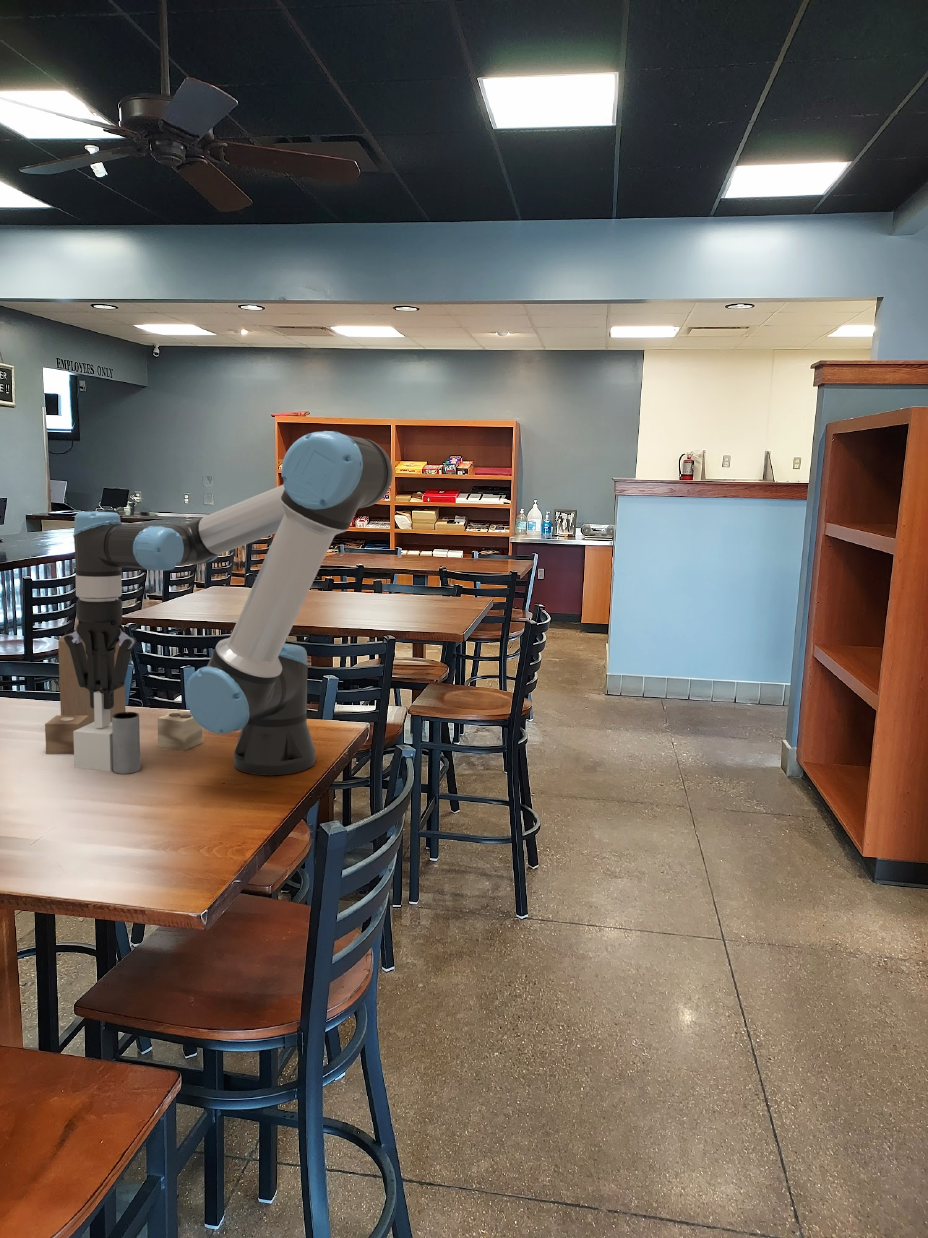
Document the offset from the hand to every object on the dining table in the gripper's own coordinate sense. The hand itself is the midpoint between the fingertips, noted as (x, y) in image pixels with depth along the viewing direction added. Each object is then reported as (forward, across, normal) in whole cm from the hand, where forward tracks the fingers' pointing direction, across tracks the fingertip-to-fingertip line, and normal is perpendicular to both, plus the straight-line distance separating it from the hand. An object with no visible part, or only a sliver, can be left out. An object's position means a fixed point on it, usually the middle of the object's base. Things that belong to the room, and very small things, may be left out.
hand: (102, 725), depth 149 cm
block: (+8, +15, -22) cm, 27 cm away
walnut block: (+7, +11, -6) cm, 15 cm away
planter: (+8, -6, +2) cm, 10 cm away
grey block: (+7, 0, 0) cm, 7 cm away
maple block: (+7, -8, -14) cm, 18 cm away
